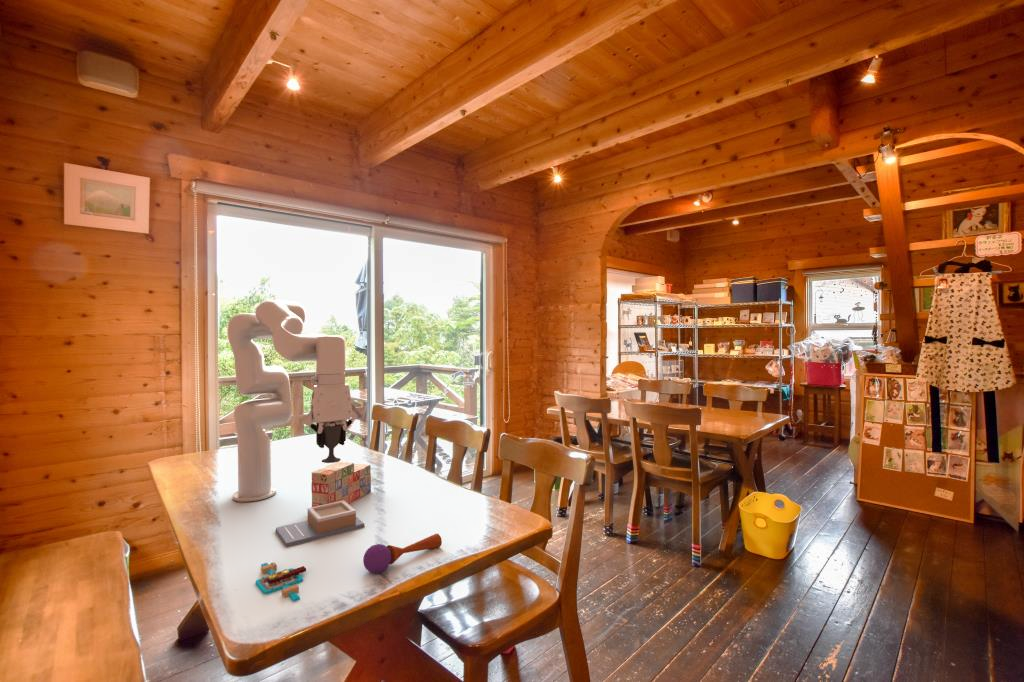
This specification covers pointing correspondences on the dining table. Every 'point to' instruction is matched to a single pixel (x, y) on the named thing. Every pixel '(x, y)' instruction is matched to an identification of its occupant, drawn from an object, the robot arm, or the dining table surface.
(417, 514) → the dining table surface
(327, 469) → the stack of blocks
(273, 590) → the gear mechanism
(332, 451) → the sundae
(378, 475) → the dining table surface
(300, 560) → the dining table surface
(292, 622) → the dining table surface
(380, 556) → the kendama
